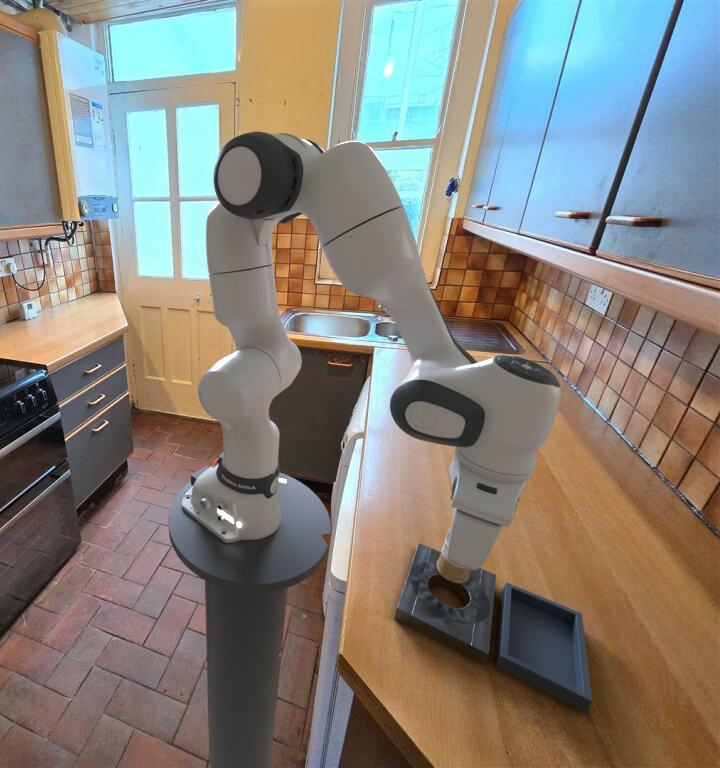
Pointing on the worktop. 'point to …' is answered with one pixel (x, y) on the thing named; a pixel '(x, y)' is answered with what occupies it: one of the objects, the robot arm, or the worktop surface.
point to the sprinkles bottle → (451, 566)
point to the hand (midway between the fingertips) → (461, 545)
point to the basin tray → (544, 646)
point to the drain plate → (443, 622)
